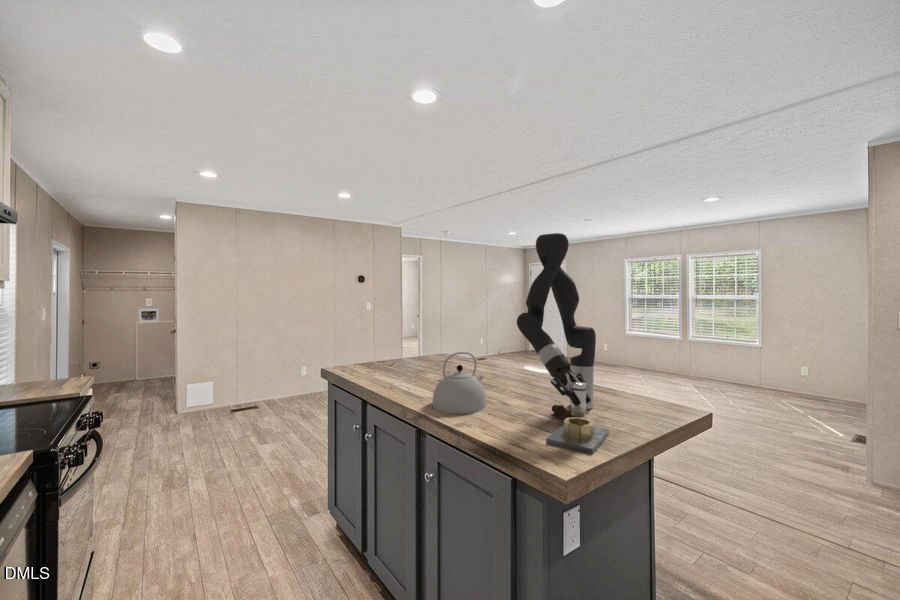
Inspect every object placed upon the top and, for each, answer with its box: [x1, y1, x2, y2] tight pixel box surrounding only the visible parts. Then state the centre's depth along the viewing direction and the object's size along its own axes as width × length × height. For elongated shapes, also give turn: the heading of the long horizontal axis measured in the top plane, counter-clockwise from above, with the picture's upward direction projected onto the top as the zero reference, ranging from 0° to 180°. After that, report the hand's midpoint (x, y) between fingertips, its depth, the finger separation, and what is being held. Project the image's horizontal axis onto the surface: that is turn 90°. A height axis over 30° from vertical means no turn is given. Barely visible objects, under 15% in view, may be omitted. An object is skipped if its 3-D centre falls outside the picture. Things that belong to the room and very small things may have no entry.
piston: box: [570, 382, 587, 418], centre depth 124 cm, size 5×5×10 cm
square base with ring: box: [545, 417, 610, 455], centre depth 124 cm, size 20×14×6 cm
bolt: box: [551, 404, 576, 421], centre depth 144 cm, size 6×5×15 cm
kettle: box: [432, 351, 488, 414], centre depth 162 cm, size 25×23×23 cm
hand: (583, 403), depth 122 cm, fingers closed on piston, 4 cm apart
